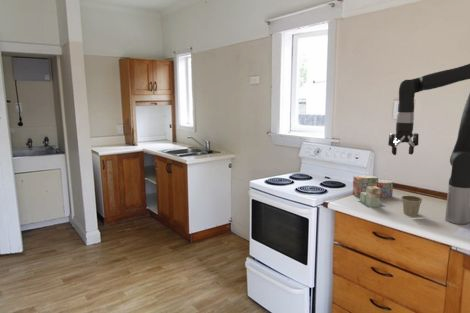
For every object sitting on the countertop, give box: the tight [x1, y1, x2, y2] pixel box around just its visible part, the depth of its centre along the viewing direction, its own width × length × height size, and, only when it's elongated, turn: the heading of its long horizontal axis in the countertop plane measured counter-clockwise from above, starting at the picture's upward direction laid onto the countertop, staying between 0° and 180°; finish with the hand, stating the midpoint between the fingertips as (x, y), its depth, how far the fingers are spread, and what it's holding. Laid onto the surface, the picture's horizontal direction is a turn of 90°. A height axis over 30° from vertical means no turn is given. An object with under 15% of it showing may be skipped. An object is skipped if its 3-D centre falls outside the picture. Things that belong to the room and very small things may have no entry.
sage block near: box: [366, 196, 381, 208], centre depth 181 cm, size 5×5×5 cm
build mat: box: [357, 200, 386, 209], centre depth 184 cm, size 10×12×1 cm
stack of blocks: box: [352, 175, 394, 198], centre depth 199 cm, size 21×6×12 cm, turn 91°
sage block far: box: [359, 192, 366, 203], centre depth 187 cm, size 5×5×5 cm
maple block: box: [366, 186, 381, 198], centre depth 180 cm, size 5×5×5 cm
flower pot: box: [400, 195, 423, 217], centre depth 167 cm, size 9×9×9 cm
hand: (402, 154), depth 166 cm, fingers open, 8 cm apart
